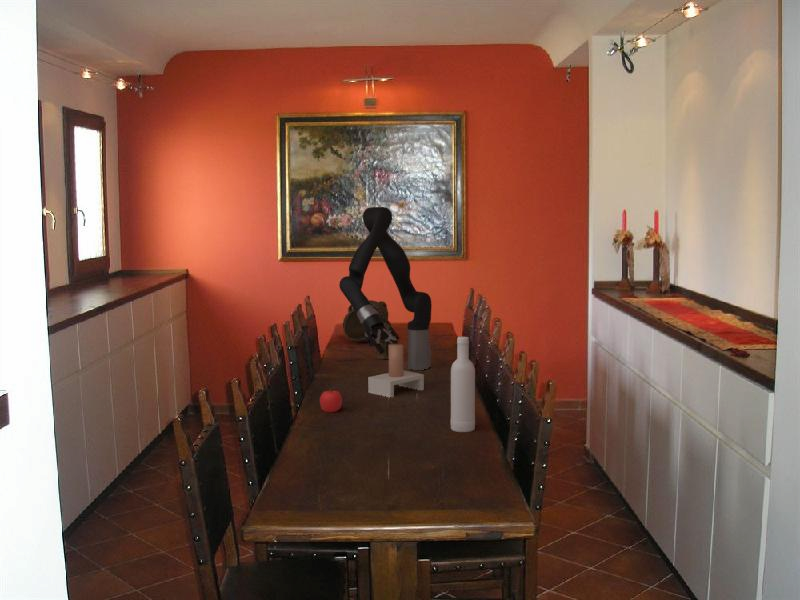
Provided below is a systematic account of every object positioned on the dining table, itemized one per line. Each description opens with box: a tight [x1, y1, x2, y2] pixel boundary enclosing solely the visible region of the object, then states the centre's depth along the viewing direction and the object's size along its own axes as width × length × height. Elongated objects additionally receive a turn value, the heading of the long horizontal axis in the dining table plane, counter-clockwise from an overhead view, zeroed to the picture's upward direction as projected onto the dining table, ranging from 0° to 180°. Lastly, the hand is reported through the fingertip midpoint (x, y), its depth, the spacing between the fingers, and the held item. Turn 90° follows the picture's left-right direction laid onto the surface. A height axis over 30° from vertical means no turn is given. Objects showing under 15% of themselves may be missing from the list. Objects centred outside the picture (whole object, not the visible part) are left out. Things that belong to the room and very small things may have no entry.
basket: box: [342, 299, 392, 342], centre depth 459 cm, size 24×22×35 cm
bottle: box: [450, 336, 476, 433], centre depth 286 cm, size 8×8×30 cm
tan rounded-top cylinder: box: [388, 343, 404, 377], centre depth 340 cm, size 6×6×12 cm
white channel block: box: [367, 369, 425, 398], centre depth 342 cm, size 18×12×6 cm, turn 135°
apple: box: [319, 388, 343, 413], centre depth 312 cm, size 8×8×8 cm
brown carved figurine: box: [374, 322, 393, 361], centre depth 405 cm, size 9×14×18 cm, turn 0°
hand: (391, 351), depth 342 cm, fingers open, 8 cm apart
